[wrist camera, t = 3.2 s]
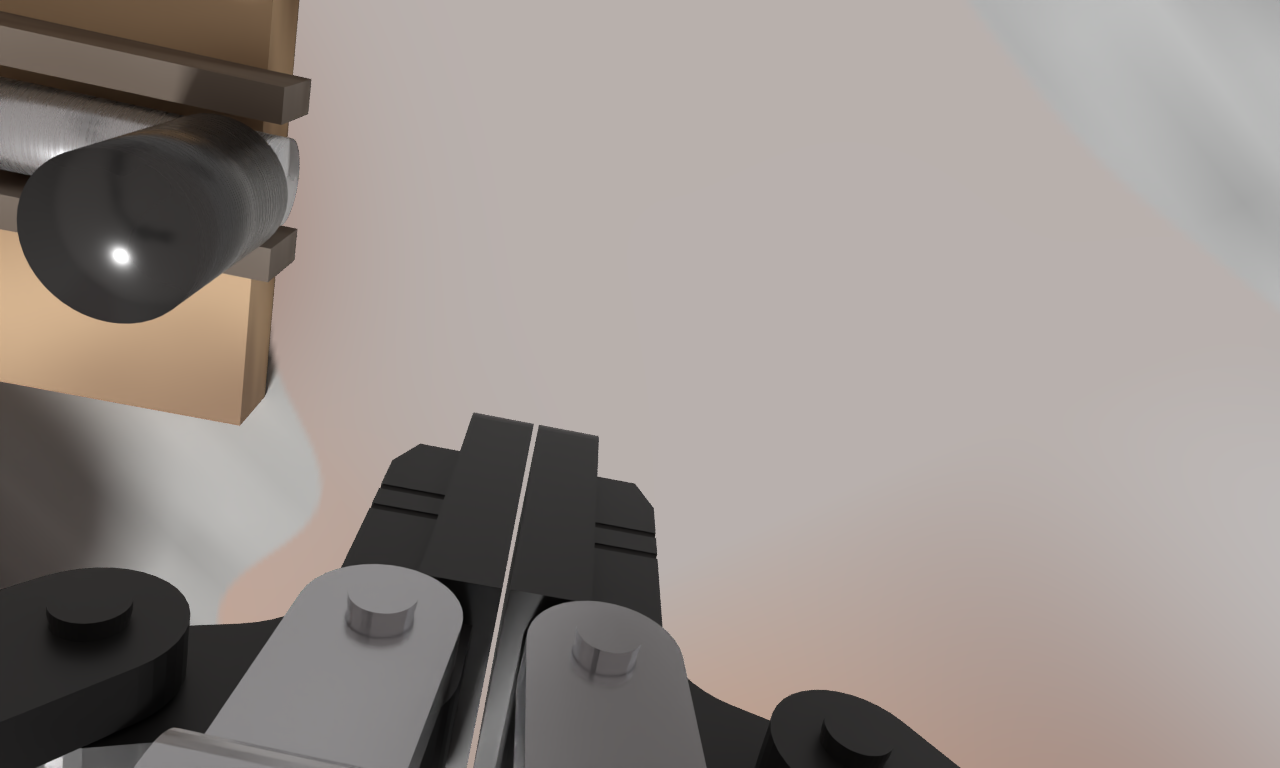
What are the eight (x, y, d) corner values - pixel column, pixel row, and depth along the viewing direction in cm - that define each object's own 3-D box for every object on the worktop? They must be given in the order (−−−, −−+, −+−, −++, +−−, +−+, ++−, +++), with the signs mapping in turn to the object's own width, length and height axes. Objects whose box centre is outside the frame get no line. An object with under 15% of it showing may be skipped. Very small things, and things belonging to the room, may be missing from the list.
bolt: (-104, 22, 22) (-422, 39, 15) (326, 115, 23) (205, 170, 16) (-96, 156, 23) (-390, 226, 16) (314, 239, 24) (195, 338, 17)
